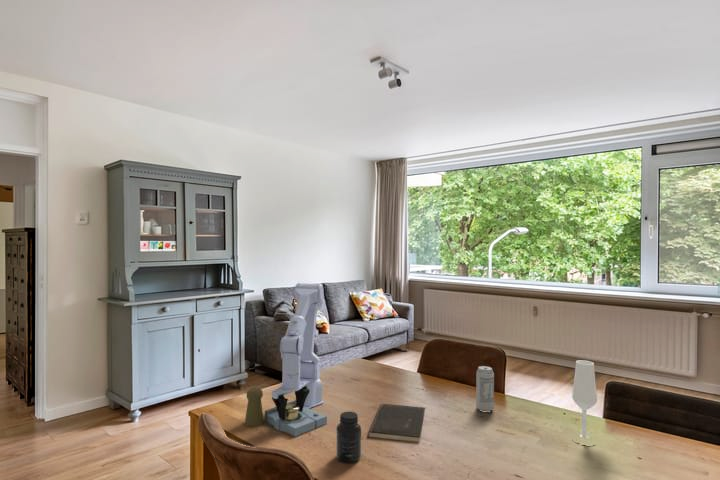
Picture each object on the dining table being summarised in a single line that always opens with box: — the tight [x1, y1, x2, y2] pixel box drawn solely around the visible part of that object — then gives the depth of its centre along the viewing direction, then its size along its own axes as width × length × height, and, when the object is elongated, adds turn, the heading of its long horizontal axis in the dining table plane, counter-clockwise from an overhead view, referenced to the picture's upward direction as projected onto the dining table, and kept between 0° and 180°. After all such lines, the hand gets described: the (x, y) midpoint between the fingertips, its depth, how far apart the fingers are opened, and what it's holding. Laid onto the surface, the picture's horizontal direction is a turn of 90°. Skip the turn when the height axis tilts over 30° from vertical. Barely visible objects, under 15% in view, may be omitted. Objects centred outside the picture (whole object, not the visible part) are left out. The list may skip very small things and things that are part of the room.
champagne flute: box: [571, 359, 598, 438], centre depth 131 cm, size 7×7×24 cm
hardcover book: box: [367, 403, 426, 443], centre depth 142 cm, size 16×23×2 cm
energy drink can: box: [475, 365, 495, 411], centre depth 154 cm, size 6×6×15 cm
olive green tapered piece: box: [244, 387, 265, 428], centre depth 142 cm, size 6×6×11 cm
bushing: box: [285, 404, 299, 421], centre depth 140 cm, size 5×5×6 cm
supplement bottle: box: [336, 411, 362, 464], centre depth 120 cm, size 7×7×12 cm
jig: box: [264, 399, 328, 437], centre depth 142 cm, size 14×16×4 cm
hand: (290, 414), depth 141 cm, fingers open, 7 cm apart
